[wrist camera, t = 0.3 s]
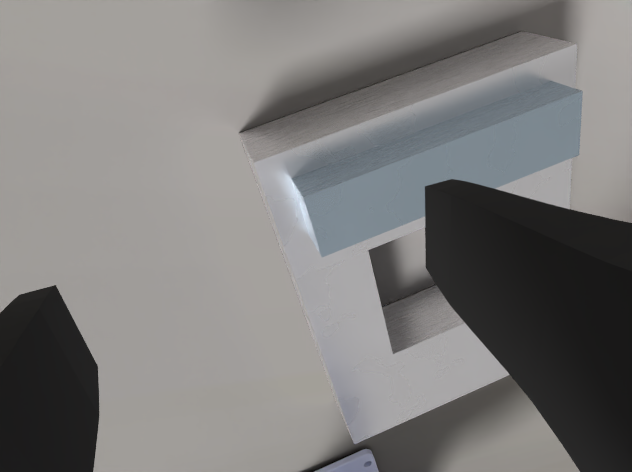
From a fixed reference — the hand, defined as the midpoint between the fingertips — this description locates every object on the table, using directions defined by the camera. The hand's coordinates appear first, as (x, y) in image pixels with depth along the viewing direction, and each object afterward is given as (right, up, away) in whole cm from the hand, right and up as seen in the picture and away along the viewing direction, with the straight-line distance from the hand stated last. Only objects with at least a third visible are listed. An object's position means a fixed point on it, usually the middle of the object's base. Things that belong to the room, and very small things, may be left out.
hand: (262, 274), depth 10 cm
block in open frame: (+6, 0, +14) cm, 15 cm away
